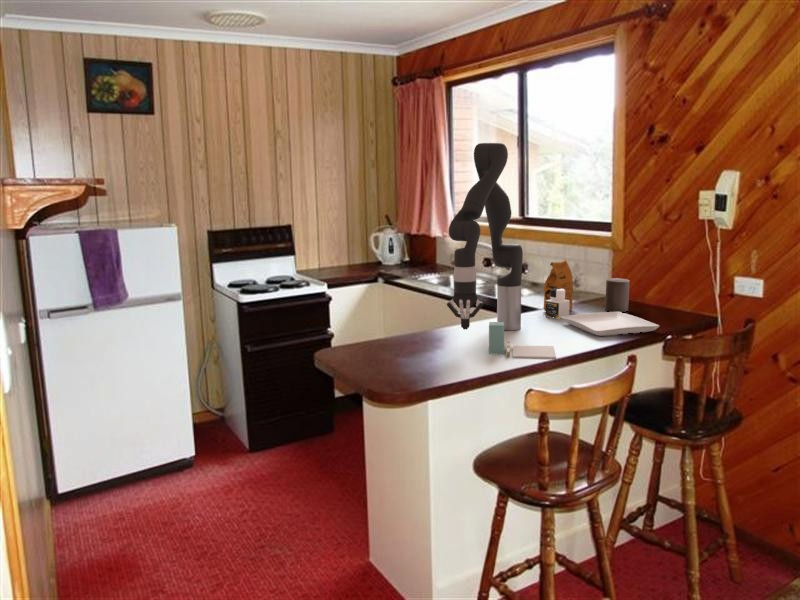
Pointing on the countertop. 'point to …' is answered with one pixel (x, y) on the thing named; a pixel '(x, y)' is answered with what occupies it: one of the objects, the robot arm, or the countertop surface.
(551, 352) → the mat
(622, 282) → the pillar candle
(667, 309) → the countertop surface
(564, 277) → the coffee package
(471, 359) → the countertop surface
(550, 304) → the medicine bottle
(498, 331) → the teal block
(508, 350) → the rail
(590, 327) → the square plate
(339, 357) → the countertop surface
